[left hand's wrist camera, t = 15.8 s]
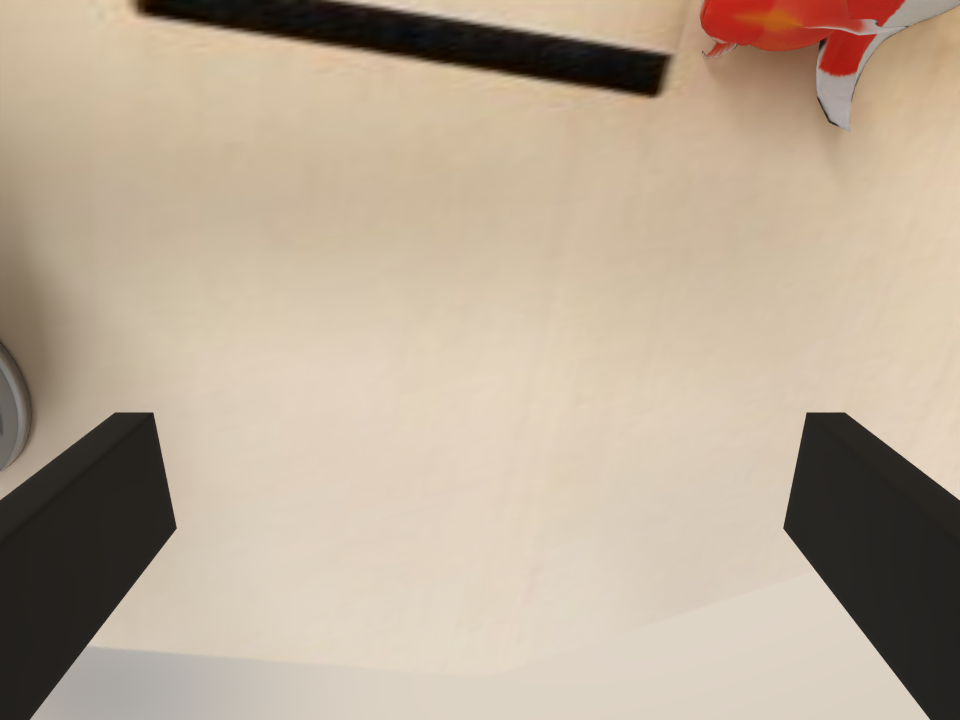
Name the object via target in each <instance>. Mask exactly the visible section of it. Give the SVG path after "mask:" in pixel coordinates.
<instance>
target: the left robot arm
mask: <svg viewBox="0 0 960 720" xmlns="http://www.w3.org/2000/svg"><path fill="white" fill-rule="evenodd" d="M30 424H31V406H30V399H29V395H28V391H27V388H26V385H25V382H24V380H23V377H22V375H21V373H20V371H19V369H18V367H17V365H16V364H15V362H14V361H13V359H12V358H11V356H10V355H9V353H8V352H7V351H6V349H5V348H4V347H3V346H2V344H1V343H0V472H1V471H2V470H4V469H5V468H6V467H7V466H9V465H10V464H11V463H12V462H13V461H14V460H15V459H16V458H17V456H18V455H19V454H20V452H21V451H22V449H23V447H24V445H25V443H26V441H27V438H28V435H29V431H30ZM176 529H177V527H176V522H175V517H174V513H173V508H172V503H171V498H170V493H169V488H168V483H167V478H166V473H165V468H164V463H163V458H162V453H161V448H160V443H159V438H158V433H157V428H156V424H155V419H154V414H153V413H114V414H113V415H111V416H110V417H109V418H107V419H106V420H105V421H103V422H102V423H101V424H100V425H98V426H97V427H96V428H94V429H93V430H92V431H90V432H89V433H88V434H86V435H85V436H84V437H83V438H81V439H80V440H79V441H77V442H76V443H75V444H73V445H72V446H71V447H69V448H68V449H67V450H66V451H64V452H63V453H62V454H60V455H59V456H58V457H56V458H55V459H54V460H52V461H51V462H50V463H49V464H47V465H46V466H45V467H43V468H42V469H41V470H39V471H38V472H37V473H35V474H34V475H33V476H32V477H30V478H29V479H28V480H26V481H25V482H24V483H22V484H21V485H20V486H18V487H17V488H16V489H15V490H13V491H12V492H11V493H9V494H8V495H7V496H5V497H4V498H3V499H1V500H0V720H30V719H31V717H32V716H33V715H34V713H35V712H36V711H37V710H38V708H39V707H40V706H41V704H42V703H43V702H44V700H45V699H46V698H47V697H48V695H49V694H50V693H51V691H52V690H53V689H54V687H55V686H56V685H57V684H58V682H59V681H60V680H61V678H62V677H63V676H64V674H65V673H66V672H67V671H68V669H69V668H70V667H71V665H72V664H73V663H74V661H75V660H76V659H77V657H78V656H79V655H80V654H81V652H82V651H83V650H84V648H85V647H86V646H87V644H88V643H89V642H90V641H91V639H92V638H93V637H94V635H95V634H96V633H97V631H98V630H99V629H100V628H101V626H102V625H103V624H104V622H105V621H106V620H107V618H108V617H109V616H110V615H111V613H112V612H113V611H114V609H115V608H116V607H117V605H118V604H119V603H120V602H121V600H122V599H123V598H124V596H125V595H126V594H127V592H128V591H129V590H130V588H131V587H132V586H133V585H134V583H135V582H136V581H137V579H138V578H139V577H140V575H141V574H142V573H143V572H144V570H145V569H146V568H147V566H148V565H149V564H150V562H151V561H152V560H153V559H154V557H155V556H156V555H157V553H158V552H159V551H160V549H161V548H162V547H163V546H164V544H165V543H166V542H167V540H168V539H169V538H170V536H171V535H172V534H173V533H174V531H175V530H176ZM783 529H784V530H785V531H786V533H787V534H788V535H789V536H790V538H791V539H792V540H793V542H794V543H795V544H796V546H797V547H798V548H799V549H800V551H801V552H802V553H803V555H804V556H805V557H806V559H807V560H808V561H809V562H810V564H811V565H812V566H813V568H814V569H815V570H816V572H817V573H818V574H819V575H820V577H821V578H822V579H823V581H824V582H825V583H826V585H827V586H828V587H829V588H830V590H831V591H832V592H833V594H834V595H835V596H836V598H837V599H838V600H839V602H840V603H841V604H842V605H843V607H844V608H845V609H846V611H847V612H848V613H849V615H850V616H851V617H852V618H853V620H854V621H855V622H856V624H857V625H858V626H859V628H860V629H861V630H862V631H863V633H864V634H865V635H866V637H867V638H868V639H869V640H870V642H871V643H872V644H873V646H874V647H875V648H876V650H877V651H878V652H879V654H880V655H881V656H882V657H883V659H884V660H885V661H886V663H887V664H888V665H889V667H890V668H891V669H892V670H893V672H894V673H895V674H896V676H897V677H898V678H899V680H900V681H901V682H902V684H903V685H904V686H905V687H906V689H907V690H908V691H909V693H910V694H911V695H912V697H913V698H914V699H915V700H916V702H917V703H918V704H919V706H920V707H921V708H922V710H923V711H924V712H925V713H926V715H927V716H928V717H929V719H930V720H960V500H959V499H957V498H956V497H955V496H953V495H952V494H951V493H949V492H948V491H947V490H945V489H944V488H943V487H942V486H940V485H939V484H938V483H936V482H935V481H934V480H932V479H931V478H930V477H928V476H927V475H926V474H925V473H923V472H922V471H921V470H919V469H918V468H917V467H915V466H914V465H913V464H911V463H910V462H909V461H908V460H906V459H905V458H904V457H902V456H901V455H900V454H898V453H897V452H896V451H894V450H893V449H892V448H891V447H889V446H888V445H887V444H885V443H884V442H883V441H881V440H880V439H879V438H877V437H876V436H875V435H874V434H872V433H871V432H870V431H868V430H867V429H866V428H864V427H863V426H862V425H860V424H859V423H858V422H857V421H855V420H854V419H853V418H851V417H850V416H849V415H847V414H846V413H807V414H806V419H805V424H804V428H803V433H802V438H801V443H800V448H799V453H798V458H797V463H796V468H795V473H794V478H793V483H792V488H791V493H790V498H789V503H788V508H787V513H786V517H785V522H784V527H783Z"/></svg>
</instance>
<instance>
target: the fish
mask: <svg viewBox="0 0 960 720" xmlns="http://www.w3.org/2000/svg"><path fill="white" fill-rule="evenodd" d="M959 5H960V0H704V1H703V3H702V5H701V12H700V20H701V25H702V28H703V29H704V30H705V32H706V33H707V34H708V35H709V36H710V37H711V38H712V39H713V40H714V41H716V42H717V43H716V44H715V45H714V47H713V48H712V50H711V51H710V52H709V53H708V54H707V55H705V53H704V51H703V52H702V53H703V56H704V59H708V58H714V57H719V56H721V55H724V54H726V53H728V52H730V51H732V50H733V49H735V47H736V46H737V44H738V45H742V46H746V45H748V44H749V45H752V46H754V47H757V48H760V49H762V50H767V51H787V50H794V49H799V48H803V47H807V46H810V45H813V44H815V43H817V42H819V41H820V46H819V53H818V60H817V67H816V87H817V99H818V101H819V103H820V105H821V107H822V109H823V111H824V113H825V115H826V117H827V119H828V121H829V123H832V124H834V125H836V126H838V127H841V128H843V129H845V130H847V131H850V107H851V101H852V97H853V93H854V89H855V86H856V84H857V82H858V79H859V77H860V75H861V73H862V70H863V68H864V66H865V64H866V62H867V61H868V59H869V58H870V56H871V55H872V53H873V52H874V51H875V49H876V48H877V47H878V45H879V44H880V43H881V42H882V41H884V40H885V39H887V38H889V37H891V36H892V35H894V34H896V33H898V32H900V31H902V30H903V29H905V28H907V27H909V26H911V25H913V24H916V23H919V22H921V21H924V20H927V19H930V18H932V17H935V16H937V15H940V14H942V13H945V12H947V11H949V10H951V9H953V8H955V7H957V6H959Z"/></svg>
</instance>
